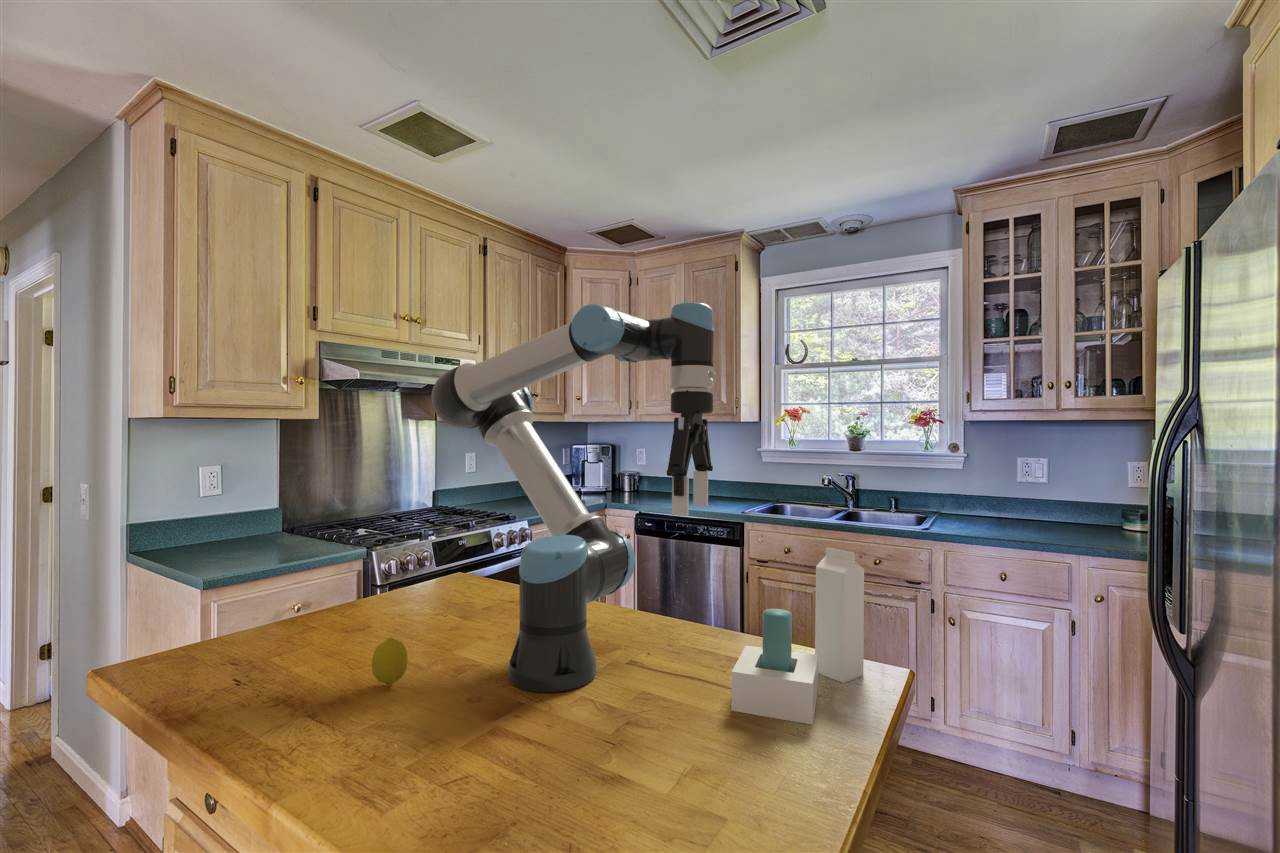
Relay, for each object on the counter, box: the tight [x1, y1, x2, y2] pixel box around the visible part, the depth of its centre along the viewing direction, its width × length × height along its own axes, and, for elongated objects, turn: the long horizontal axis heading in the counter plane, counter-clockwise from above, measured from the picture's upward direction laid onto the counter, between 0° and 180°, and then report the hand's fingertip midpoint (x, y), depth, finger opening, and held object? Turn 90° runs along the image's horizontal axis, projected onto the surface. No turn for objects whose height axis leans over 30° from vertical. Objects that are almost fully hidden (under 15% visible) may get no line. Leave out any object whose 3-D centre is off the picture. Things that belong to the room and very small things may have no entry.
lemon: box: [371, 637, 409, 687], centre depth 100 cm, size 6×6×8 cm
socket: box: [730, 645, 819, 725], centre depth 96 cm, size 12×12×6 cm
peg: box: [762, 608, 793, 672], centre depth 96 cm, size 4×4×14 cm
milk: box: [814, 547, 865, 684], centre depth 107 cm, size 6×6×22 cm
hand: (690, 510), depth 107 cm, fingers open, 13 cm apart
